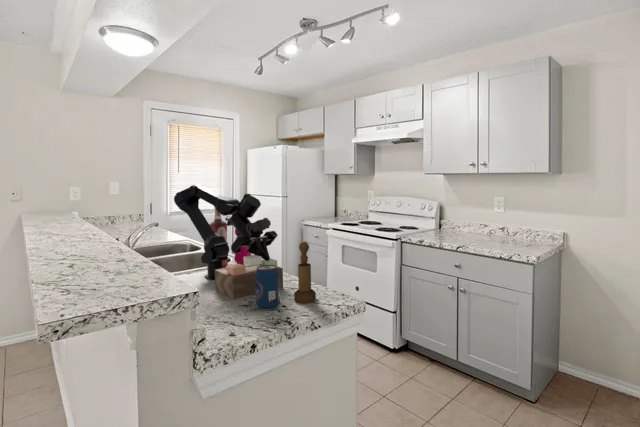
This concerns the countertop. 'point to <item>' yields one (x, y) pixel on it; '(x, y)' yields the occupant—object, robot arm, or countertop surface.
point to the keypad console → (240, 282)
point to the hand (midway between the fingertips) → (268, 259)
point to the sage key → (269, 262)
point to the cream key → (252, 260)
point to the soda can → (267, 287)
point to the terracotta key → (236, 269)
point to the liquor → (219, 229)
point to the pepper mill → (241, 253)
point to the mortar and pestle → (304, 278)
